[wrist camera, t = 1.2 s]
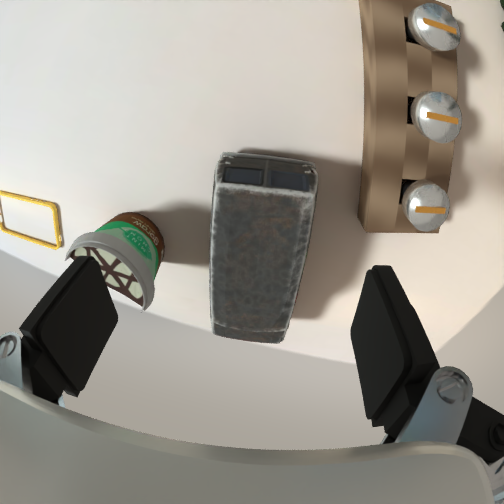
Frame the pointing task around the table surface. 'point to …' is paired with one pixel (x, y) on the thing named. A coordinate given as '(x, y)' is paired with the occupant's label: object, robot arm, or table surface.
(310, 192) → the toy van
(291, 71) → the table surface
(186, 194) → the table surface
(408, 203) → the knob
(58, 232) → the phone case
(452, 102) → the middle knob
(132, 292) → the food container
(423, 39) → the knob
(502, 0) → the toy figurine
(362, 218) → the knob console
